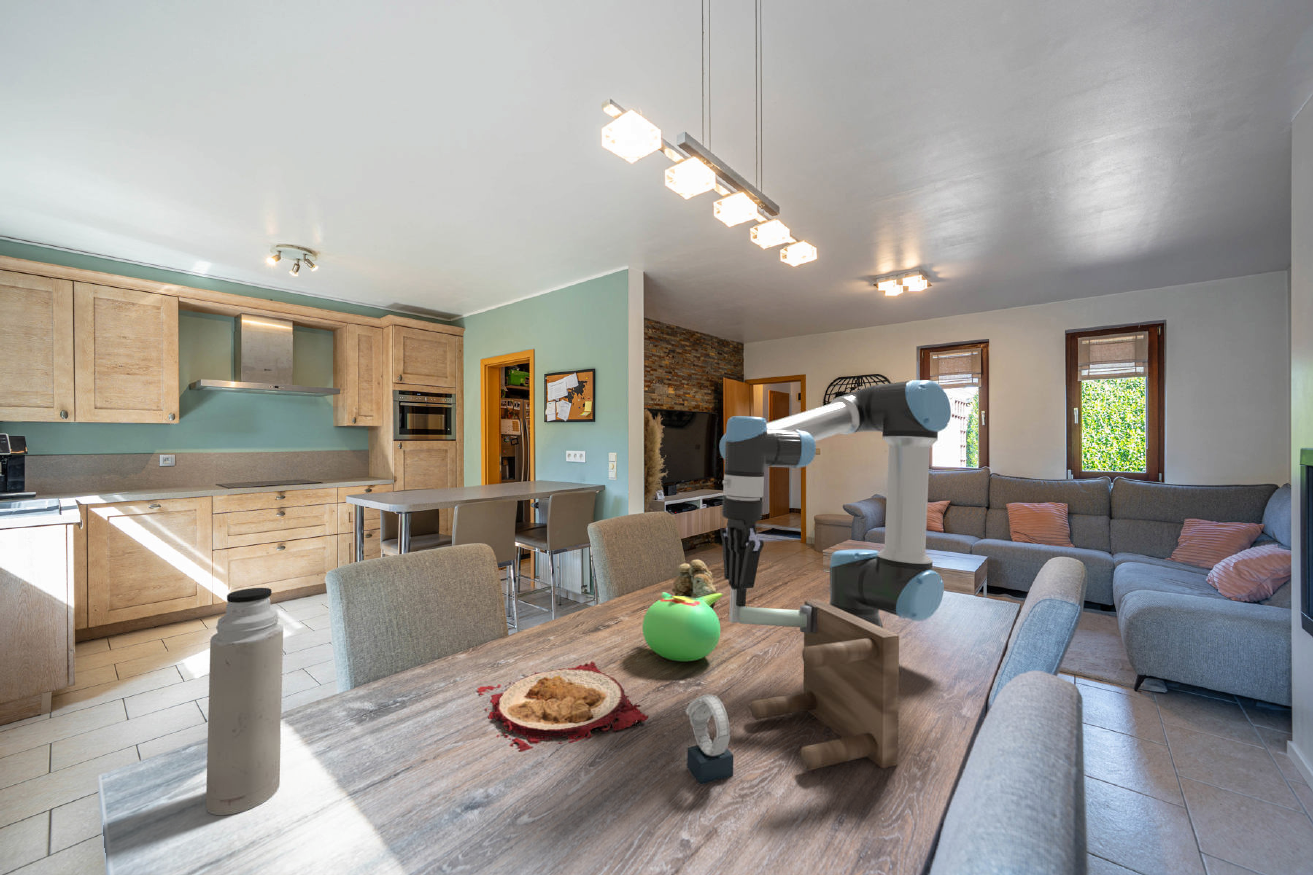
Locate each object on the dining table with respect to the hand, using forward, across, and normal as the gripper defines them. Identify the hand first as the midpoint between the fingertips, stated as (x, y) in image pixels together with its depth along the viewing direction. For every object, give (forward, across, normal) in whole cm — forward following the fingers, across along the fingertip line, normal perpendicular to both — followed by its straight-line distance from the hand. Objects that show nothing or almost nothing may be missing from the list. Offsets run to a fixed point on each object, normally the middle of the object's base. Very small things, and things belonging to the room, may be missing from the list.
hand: (736, 621), depth 101 cm
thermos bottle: (+18, +3, -76) cm, 79 cm away
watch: (+16, +18, -13) cm, 27 cm away
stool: (+15, +15, +8) cm, 23 cm away
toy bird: (+17, -23, -1) cm, 29 cm away
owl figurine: (+17, -46, +12) cm, 50 cm away
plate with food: (+18, -9, -32) cm, 37 cm away
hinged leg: (0, +5, +5) cm, 7 cm away
